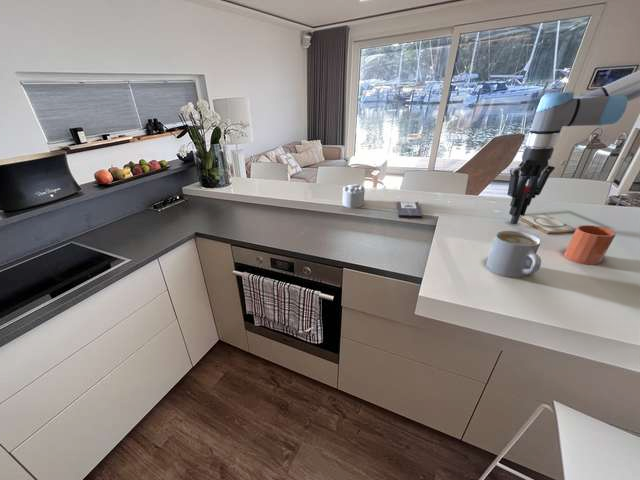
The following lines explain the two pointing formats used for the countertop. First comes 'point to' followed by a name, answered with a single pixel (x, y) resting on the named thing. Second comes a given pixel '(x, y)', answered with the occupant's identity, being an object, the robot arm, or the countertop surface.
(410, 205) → the chocolate bar
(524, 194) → the marker
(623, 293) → the countertop surface
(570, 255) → the pen cup
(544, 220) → the sketch pad
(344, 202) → the lumpy-topped squat cylinder
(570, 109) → the robot arm
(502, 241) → the coffee mug
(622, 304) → the countertop surface
